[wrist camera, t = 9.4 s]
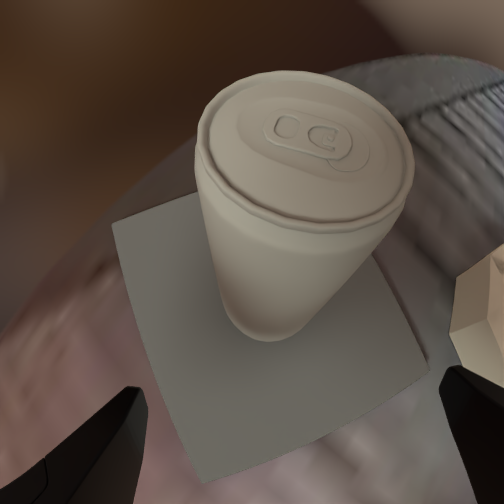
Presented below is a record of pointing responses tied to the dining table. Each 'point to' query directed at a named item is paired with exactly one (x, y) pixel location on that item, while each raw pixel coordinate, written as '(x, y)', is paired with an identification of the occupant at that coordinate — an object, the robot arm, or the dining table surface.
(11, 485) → the robot arm
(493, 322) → the holder ring
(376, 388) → the rubber mat
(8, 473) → the dining table surface
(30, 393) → the dining table surface
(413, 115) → the dining table surface
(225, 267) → the beverage can
